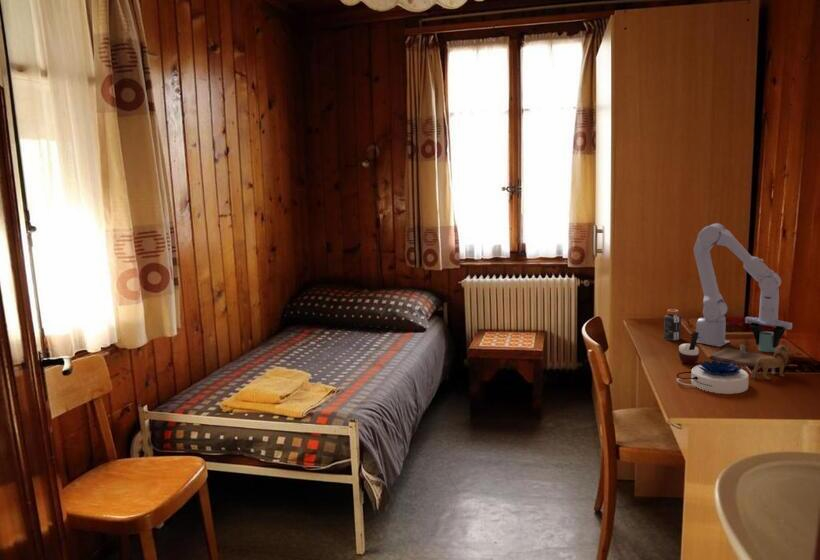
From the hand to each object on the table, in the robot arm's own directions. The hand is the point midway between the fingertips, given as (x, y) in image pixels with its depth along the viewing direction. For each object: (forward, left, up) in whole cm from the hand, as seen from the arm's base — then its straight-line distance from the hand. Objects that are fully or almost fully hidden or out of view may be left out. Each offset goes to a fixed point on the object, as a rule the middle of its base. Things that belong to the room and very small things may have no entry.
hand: (766, 345), depth 215 cm
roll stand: (-2, -15, -2) cm, 15 cm away
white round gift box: (+1, -45, -2) cm, 45 cm away
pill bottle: (-31, -7, -2) cm, 32 cm away
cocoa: (-13, -30, -2) cm, 33 cm away
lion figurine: (+11, -26, -2) cm, 28 cm away
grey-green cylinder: (0, 0, -2) cm, 2 cm away
